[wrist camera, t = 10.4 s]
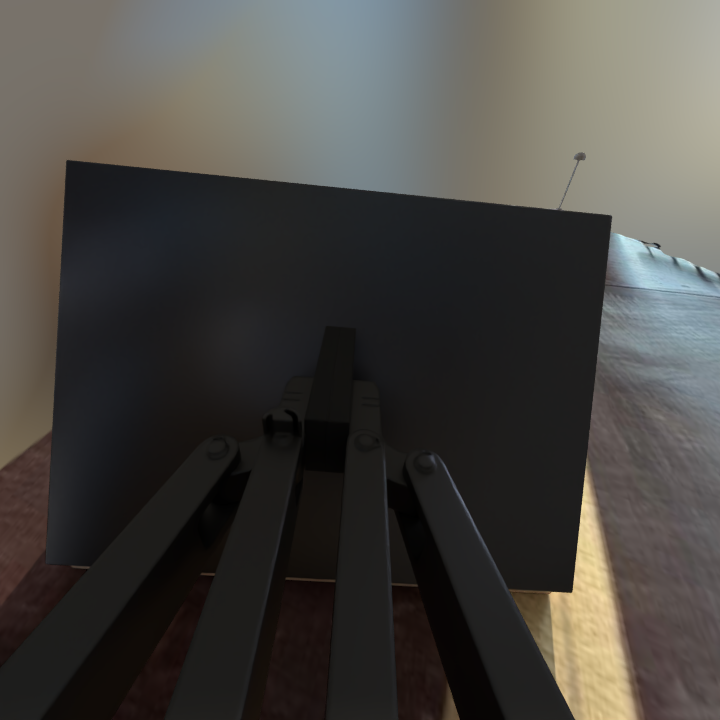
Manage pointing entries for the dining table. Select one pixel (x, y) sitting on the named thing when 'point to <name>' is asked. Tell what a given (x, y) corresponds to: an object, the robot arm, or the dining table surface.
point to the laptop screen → (303, 343)
